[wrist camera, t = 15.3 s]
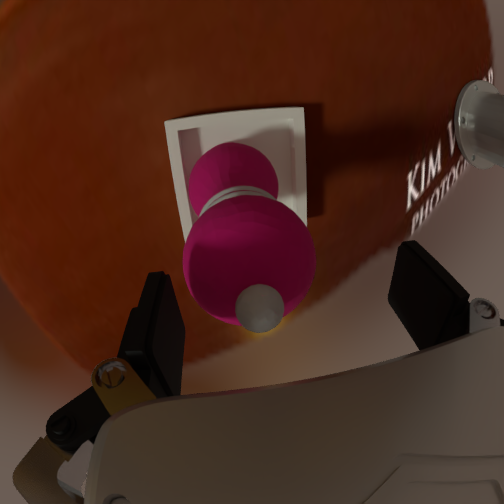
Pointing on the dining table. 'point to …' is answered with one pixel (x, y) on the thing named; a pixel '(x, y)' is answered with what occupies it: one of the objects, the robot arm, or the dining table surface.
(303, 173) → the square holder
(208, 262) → the pepper mill
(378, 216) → the dining table surface
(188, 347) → the dining table surface
